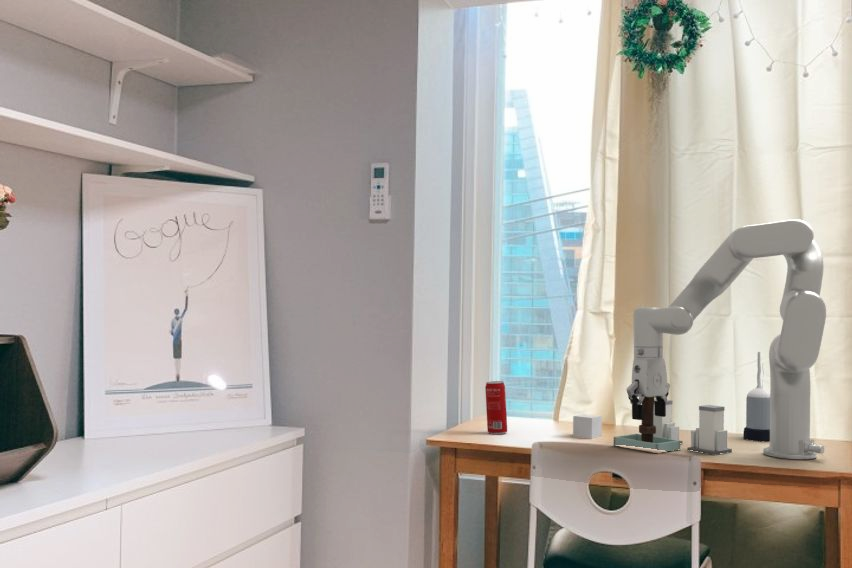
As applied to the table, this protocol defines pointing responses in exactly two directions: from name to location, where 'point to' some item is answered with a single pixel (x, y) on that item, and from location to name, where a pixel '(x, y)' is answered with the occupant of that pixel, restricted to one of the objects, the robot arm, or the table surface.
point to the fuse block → (697, 429)
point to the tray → (637, 442)
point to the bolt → (647, 420)
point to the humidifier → (758, 412)
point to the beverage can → (496, 407)
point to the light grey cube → (587, 426)
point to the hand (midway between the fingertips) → (649, 417)
